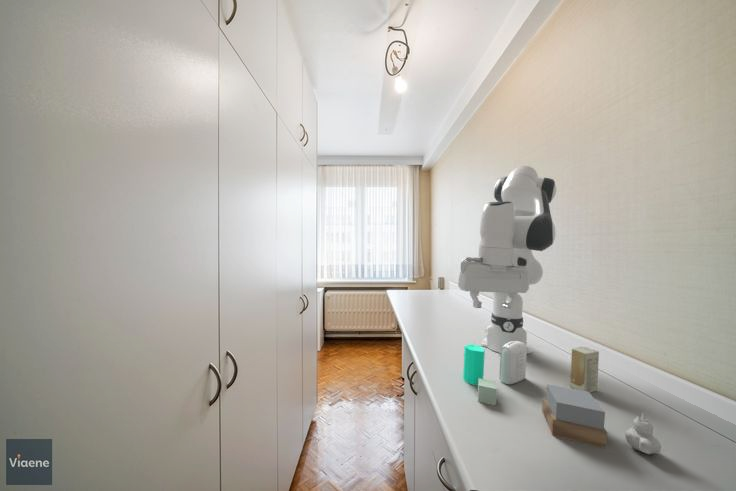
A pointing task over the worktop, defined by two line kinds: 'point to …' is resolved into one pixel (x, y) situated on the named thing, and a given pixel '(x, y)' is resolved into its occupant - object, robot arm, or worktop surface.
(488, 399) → the sage cube
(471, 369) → the candle
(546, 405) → the walnut block
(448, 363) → the worktop surface
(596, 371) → the skincare box
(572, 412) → the gray block
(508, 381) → the photo printer
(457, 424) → the worktop surface
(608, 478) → the worktop surface
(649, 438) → the white figurine
